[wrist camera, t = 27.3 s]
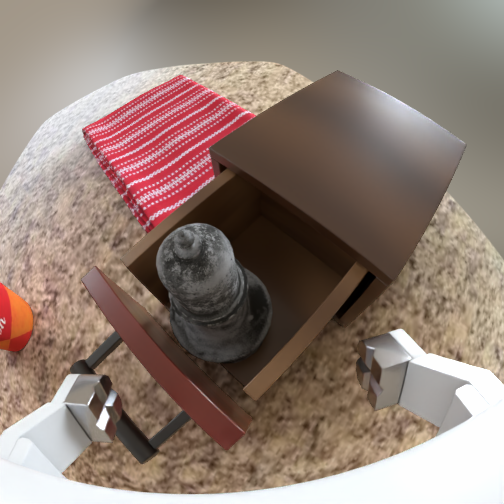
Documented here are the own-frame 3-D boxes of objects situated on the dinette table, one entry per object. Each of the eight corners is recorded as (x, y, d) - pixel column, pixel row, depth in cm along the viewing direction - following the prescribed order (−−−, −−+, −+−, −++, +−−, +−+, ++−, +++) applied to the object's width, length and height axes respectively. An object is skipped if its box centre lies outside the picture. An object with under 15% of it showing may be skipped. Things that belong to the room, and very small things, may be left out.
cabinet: (344, 328, 21) (394, 281, 12) (225, 230, 25) (207, 147, 17) (423, 212, 25) (467, 144, 17) (324, 145, 30) (337, 69, 21)
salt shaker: (168, 322, 20) (73, 235, 9) (230, 268, 21) (198, 140, 11) (225, 386, 18) (165, 372, 7) (289, 325, 19) (319, 231, 9)
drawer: (191, 472, 16) (153, 508, 9) (92, 358, 19) (27, 335, 13) (364, 291, 21) (405, 241, 14) (254, 206, 25) (250, 137, 18)
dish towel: (166, 260, 24) (156, 245, 22) (83, 141, 33) (75, 127, 30) (308, 158, 29) (310, 139, 26) (185, 82, 38) (182, 67, 35)
